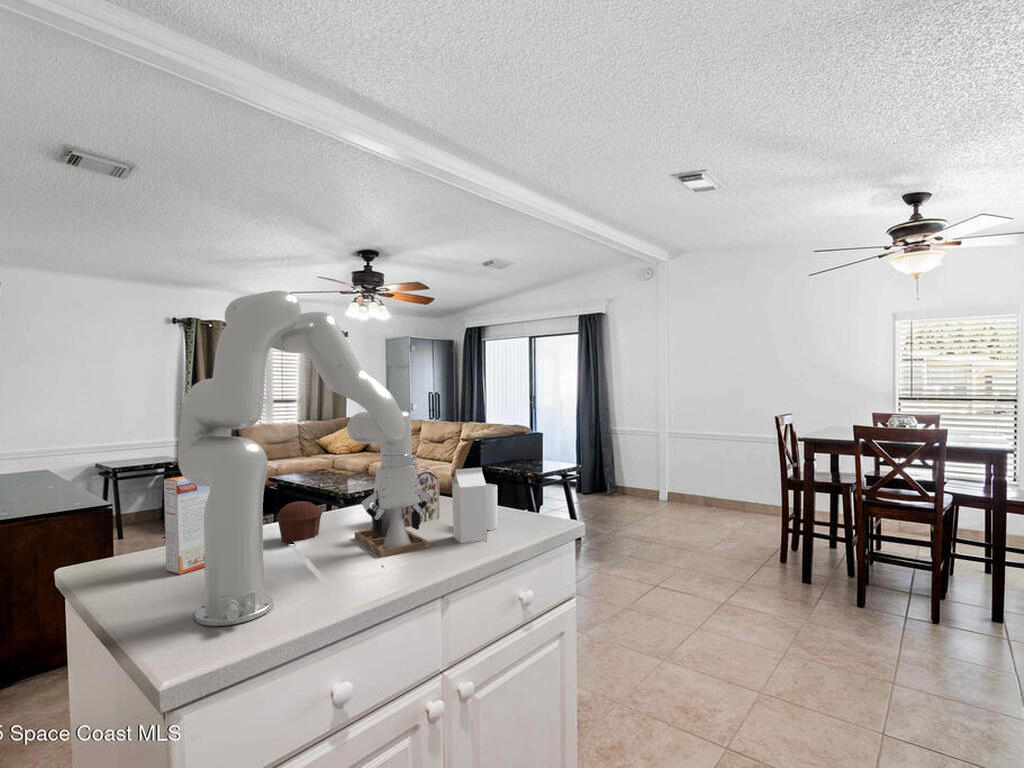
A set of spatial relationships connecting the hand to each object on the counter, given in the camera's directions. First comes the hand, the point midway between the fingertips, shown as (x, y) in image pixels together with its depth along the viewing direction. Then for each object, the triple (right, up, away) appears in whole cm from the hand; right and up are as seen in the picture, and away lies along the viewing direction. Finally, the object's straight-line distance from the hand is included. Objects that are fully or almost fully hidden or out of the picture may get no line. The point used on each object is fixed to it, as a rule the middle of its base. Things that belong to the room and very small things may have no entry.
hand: (397, 531), depth 133 cm
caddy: (-3, -5, +4) cm, 7 cm away
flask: (0, -4, 0) cm, 4 cm away
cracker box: (-44, -6, -7) cm, 45 cm away
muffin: (-29, -6, +12) cm, 32 cm away
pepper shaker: (-5, -4, +8) cm, 10 cm away
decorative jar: (-1, -5, +29) cm, 29 cm away
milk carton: (+17, -5, +7) cm, 19 cm away
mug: (+20, -5, +22) cm, 30 cm away
